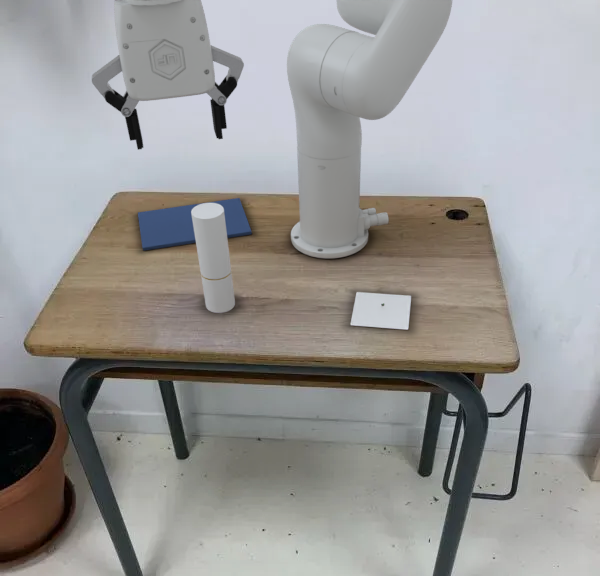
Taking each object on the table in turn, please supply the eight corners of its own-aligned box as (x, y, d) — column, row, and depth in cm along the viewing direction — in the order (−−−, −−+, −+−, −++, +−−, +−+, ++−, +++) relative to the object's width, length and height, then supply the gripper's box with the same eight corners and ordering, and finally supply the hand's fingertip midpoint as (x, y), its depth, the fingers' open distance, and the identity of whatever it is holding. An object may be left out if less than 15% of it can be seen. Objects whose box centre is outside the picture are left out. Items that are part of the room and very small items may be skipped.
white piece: (350, 325, 96) (350, 320, 96) (356, 292, 102) (356, 287, 101) (408, 329, 95) (408, 325, 94) (411, 295, 101) (411, 291, 100)
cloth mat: (239, 200, 123) (239, 197, 123) (251, 234, 115) (251, 231, 114) (138, 215, 121) (137, 212, 120) (143, 250, 112) (142, 247, 112)
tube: (230, 314, 99) (218, 220, 89) (202, 311, 100) (186, 217, 89) (238, 296, 102) (227, 203, 92) (210, 294, 103) (196, 201, 92)
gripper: (69, -2, 69) (108, 162, 81) (240, -19, 71) (254, 143, 83) (70, -21, 74) (107, 136, 86) (230, -36, 76) (244, 119, 88)
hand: (179, 139), depth 85 cm, fingers open, 9 cm apart
